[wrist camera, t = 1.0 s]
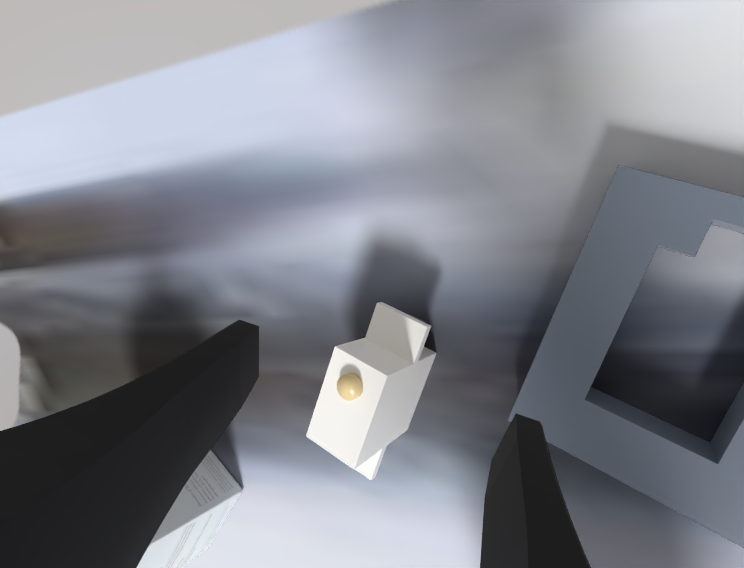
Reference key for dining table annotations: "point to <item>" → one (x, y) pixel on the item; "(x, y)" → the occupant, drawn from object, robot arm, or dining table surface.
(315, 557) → the dining table surface
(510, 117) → the dining table surface
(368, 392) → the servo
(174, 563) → the supplement box
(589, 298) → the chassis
